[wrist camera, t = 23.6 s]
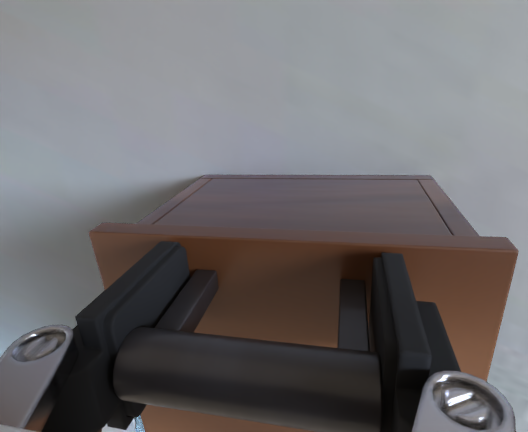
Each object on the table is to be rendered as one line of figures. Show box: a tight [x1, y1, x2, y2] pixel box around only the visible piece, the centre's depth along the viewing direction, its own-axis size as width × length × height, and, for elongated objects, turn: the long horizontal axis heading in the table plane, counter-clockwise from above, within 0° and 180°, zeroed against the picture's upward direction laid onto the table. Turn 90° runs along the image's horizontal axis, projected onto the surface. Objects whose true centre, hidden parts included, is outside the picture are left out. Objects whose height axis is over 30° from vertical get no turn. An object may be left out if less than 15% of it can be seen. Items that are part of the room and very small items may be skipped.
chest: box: [136, 175, 479, 236], centre depth 19 cm, size 16×13×9 cm
